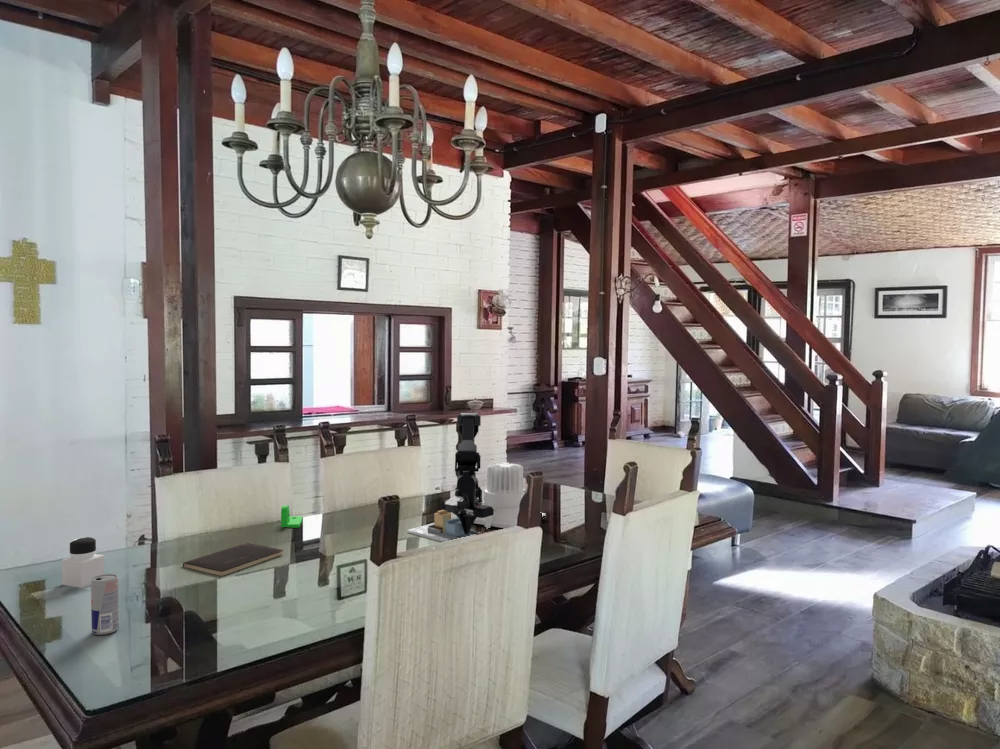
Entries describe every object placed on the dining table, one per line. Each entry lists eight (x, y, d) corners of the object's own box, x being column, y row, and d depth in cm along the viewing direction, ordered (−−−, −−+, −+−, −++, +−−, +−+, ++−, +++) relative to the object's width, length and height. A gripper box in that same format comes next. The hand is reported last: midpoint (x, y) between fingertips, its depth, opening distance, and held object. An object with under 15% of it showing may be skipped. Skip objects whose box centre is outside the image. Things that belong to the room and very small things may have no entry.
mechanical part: (299, 529, 251) (298, 507, 250) (281, 530, 250) (280, 507, 249) (303, 521, 262) (303, 499, 262) (286, 521, 262) (286, 499, 261)
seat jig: (436, 525, 257) (436, 517, 257) (483, 536, 243) (483, 527, 243) (407, 533, 246) (407, 524, 246) (454, 545, 232) (454, 536, 232)
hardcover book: (283, 557, 220) (283, 549, 220) (221, 578, 200) (221, 570, 200) (245, 549, 228) (245, 542, 227) (182, 569, 207) (182, 561, 207)
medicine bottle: (105, 580, 196) (104, 536, 195) (81, 589, 189) (81, 543, 188) (84, 577, 198) (84, 534, 197) (61, 586, 191) (60, 541, 191)
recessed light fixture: (513, 534, 246) (514, 472, 245) (460, 525, 258) (460, 466, 257) (547, 519, 268) (548, 462, 267) (497, 511, 279) (497, 457, 278)
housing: (460, 531, 245) (460, 516, 245) (469, 533, 242) (469, 518, 242) (445, 535, 240) (445, 520, 239) (454, 537, 237) (454, 522, 237)
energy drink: (98, 626, 165) (97, 574, 164) (123, 625, 165) (122, 573, 165) (87, 635, 159) (86, 581, 159) (112, 635, 160) (111, 581, 159)
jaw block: (442, 528, 248) (442, 508, 248) (451, 530, 246) (451, 510, 245) (434, 531, 245) (434, 510, 245) (442, 533, 243) (442, 512, 242)
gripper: (429, 486, 237) (429, 533, 238) (471, 494, 226) (471, 544, 226) (452, 481, 246) (452, 527, 247) (494, 489, 234) (494, 537, 235)
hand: (466, 533), depth 238 cm, fingers closed
